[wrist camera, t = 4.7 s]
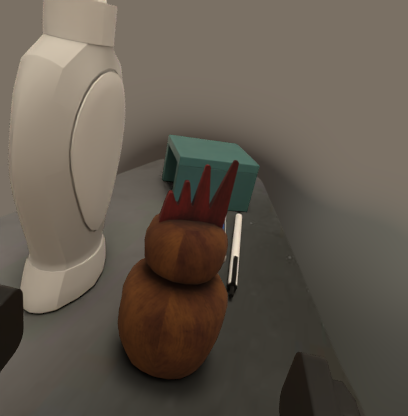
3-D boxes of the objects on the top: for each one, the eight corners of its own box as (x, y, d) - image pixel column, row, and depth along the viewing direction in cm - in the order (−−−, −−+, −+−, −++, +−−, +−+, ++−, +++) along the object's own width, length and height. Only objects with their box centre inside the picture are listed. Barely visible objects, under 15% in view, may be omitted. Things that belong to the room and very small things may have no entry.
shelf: (171, 205, 49) (180, 156, 46) (161, 177, 57) (168, 134, 55) (247, 212, 52) (259, 165, 49) (227, 184, 61) (237, 143, 58)
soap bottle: (57, 230, 38) (67, -46, 28) (126, 251, 37) (162, -27, 27) (-48, 305, 26) (-95, -121, 16) (49, 339, 25) (62, -93, 15)
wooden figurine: (215, 342, 28) (267, 157, 22) (200, 407, 23) (263, 189, 17) (132, 317, 29) (160, 131, 23) (99, 374, 24) (124, 153, 17)
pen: (225, 298, 33) (228, 288, 33) (235, 213, 50) (237, 206, 50) (235, 300, 33) (237, 291, 33) (241, 214, 50) (243, 207, 50)
